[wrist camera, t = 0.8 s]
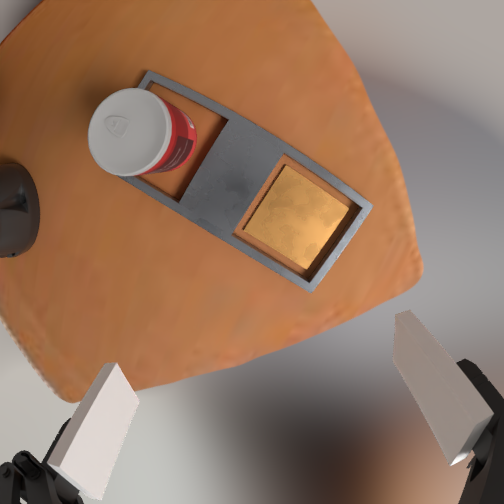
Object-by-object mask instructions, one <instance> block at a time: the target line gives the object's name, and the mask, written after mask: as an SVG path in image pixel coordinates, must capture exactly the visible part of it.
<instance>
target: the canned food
mask: <svg viewBox="0 0 504 504" xmlns="http://www.w3.org/2000/svg"><path fill="white" fill-rule="evenodd" d="M196 142H197V134H196V129H195V126H194V124H193V122H192V120H191V119H190V118H189V117H188V116H187V115H186V114H185V113H184V112H182V111H181V110H179V109H178V108H176V107H175V106H173V105H171V104H170V103H168V102H167V101H165V100H164V99H162V98H160V97H159V96H157V95H155V94H153V93H152V92H150V91H146V90H143V89H139V88H128V89H122V90H120V91H117V92H115V93H113V94H111V95H110V96H108V97H107V98H106V99H105V100H103V101H102V102H101V104H100V105H99V106H98V107H97V109H96V110H95V112H94V114H93V116H92V118H91V121H90V124H89V129H88V144H89V149H90V152H91V155H92V156H93V158H94V160H95V161H96V163H97V164H98V165H99V166H100V167H101V168H103V169H104V170H105V171H107V172H109V173H111V174H114V175H119V176H137V175H144V174H151V173H159V172H167V171H172V170H175V169H177V168H179V167H181V166H182V165H184V164H185V163H186V162H187V161H188V160H189V159H190V157H191V156H192V154H193V152H194V150H195V147H196Z"/></svg>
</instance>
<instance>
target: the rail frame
mask: <svg viewBox="0 0 504 504" xmlns="http://www.w3.org/2000/svg"><path fill="white" fill-rule="evenodd" d="M153 83H157V84H159V85H161V86H163V87H165V88H167V89H170V90H172V91H174V92H176V93H178V94H180V95H182V96H184V97H186V98H188V99H190V100H192V101H194V102H196V103H198V104H200V105H202V106H203V107H205V108H207V109H209V110H211V111H213V112H215V113H217V114H218V115H220V116H222V117H224V118H226V119H227V120H229V121H228V122H227V124H226V125H225V127H224V128H223V130H222V131H221V133H220V135H219V136H218V138H217V139H216V141H215V142H214V144H213V146H212V147H211V149H210V151H209V152H208V154H207V155H206V157H205V159H204V160H203V162H202V164H201V165H200V167H199V169H198V171H197V172H196V174H195V176H194V177H193V179H192V181H191V183H190V184H189V186H188V188H187V190H186V191H185V193H184V195H183V197H182V199H181V200H180V201H179V200H177V199H175V198H174V197H172V196H170V195H169V194H167V193H165V192H164V191H162V190H160V189H159V188H157V187H155V186H154V185H152V184H150V183H149V182H147V181H145V180H144V179H142V178H140V177H139V176H119V175H116V176H118V177H120V178H121V179H123V180H125V181H126V182H128V183H130V184H131V185H133V186H134V187H136V188H138V189H139V190H141V191H143V192H144V193H146V194H148V195H149V196H151V197H152V198H154V199H156V200H157V201H159V202H161V203H162V204H164V205H166V206H167V207H169V208H170V209H172V210H174V211H175V212H177V213H179V214H180V215H182V216H184V217H185V218H187V219H189V220H190V221H192V222H194V223H195V224H197V225H198V226H200V227H202V228H203V229H205V230H207V231H208V232H210V233H212V234H213V235H215V236H217V237H218V238H220V239H222V240H223V241H225V242H227V243H228V244H230V245H232V246H233V247H235V248H236V249H238V250H240V251H241V252H243V253H245V254H246V255H248V256H250V257H251V258H253V259H255V260H256V261H258V262H260V263H261V264H263V265H265V266H266V267H268V268H270V269H271V270H273V271H275V272H276V273H278V274H280V275H281V276H283V277H285V278H286V279H288V280H290V281H291V282H293V283H295V284H296V285H298V286H300V287H301V288H303V289H305V290H306V291H308V292H310V293H312V292H313V291H314V289H315V288H316V287H317V285H318V284H319V283H320V281H321V280H322V279H323V277H324V276H325V275H326V273H327V272H328V271H329V269H330V268H331V267H332V265H333V264H334V262H335V261H336V260H337V258H338V257H339V255H340V254H341V253H342V251H343V250H344V248H345V247H346V246H347V244H348V243H349V241H350V240H351V239H352V237H353V236H354V234H355V233H356V231H357V230H358V228H359V227H360V225H361V224H362V222H363V221H364V220H365V218H366V217H367V215H368V214H369V212H370V211H371V209H372V208H373V205H372V204H371V203H369V202H368V201H367V200H366V199H364V198H363V197H362V196H361V195H359V194H358V193H357V192H355V191H354V190H353V189H351V188H350V187H349V186H347V185H346V184H345V183H343V182H342V181H341V180H339V179H338V178H337V177H335V176H334V175H332V174H331V173H330V172H328V171H327V170H325V169H324V168H323V167H321V166H320V165H318V164H317V163H315V162H314V161H312V160H311V159H309V158H308V157H307V156H305V155H304V154H302V153H301V152H299V151H297V150H296V149H294V148H293V147H291V146H290V145H288V144H287V143H285V142H284V141H282V140H280V139H279V138H277V137H276V136H274V135H272V134H271V133H269V132H267V131H266V130H264V129H263V128H261V127H259V126H258V125H256V124H254V123H252V122H251V121H249V120H247V119H246V118H244V117H242V116H240V115H238V114H237V113H235V112H233V111H231V110H229V109H228V108H226V107H224V106H222V105H220V104H218V103H217V102H215V101H213V100H211V99H209V98H207V97H205V96H203V95H201V94H199V93H197V92H195V91H193V90H191V89H189V88H187V87H185V86H183V85H181V84H179V83H176V82H174V81H172V80H170V79H168V78H166V77H163V76H161V75H159V74H156V73H154V72H152V71H150V70H148V72H147V73H146V75H145V77H144V78H143V80H142V81H141V83H140V84H139V86H138V88H139V89H143V90H146V91H149V89H150V88H151V86H152V84H153ZM283 153H284V154H286V155H287V156H289V157H290V158H292V159H293V160H295V161H296V162H298V163H299V164H301V165H302V166H304V167H305V168H307V169H308V170H310V171H311V172H313V173H314V174H316V175H317V176H319V177H320V178H321V179H323V180H324V181H326V182H327V183H329V184H330V185H331V186H333V187H334V188H336V189H337V190H338V191H340V192H341V193H342V194H344V195H345V196H346V197H348V198H349V199H350V200H352V201H353V202H354V203H356V204H357V205H358V206H359V208H358V209H357V211H356V212H355V214H354V215H353V217H352V218H351V220H350V221H349V223H348V224H347V226H346V227H345V228H344V230H343V231H342V233H341V234H340V236H339V237H338V239H337V240H336V241H335V243H334V244H333V246H332V247H331V249H330V250H329V251H328V253H327V254H326V256H325V257H324V258H323V260H322V261H321V262H320V264H319V265H318V267H317V268H316V269H315V271H314V272H313V273H312V275H311V276H310V278H309V279H307V278H305V277H304V276H302V275H300V274H299V273H297V272H295V271H294V270H292V269H290V268H289V267H287V266H286V265H284V264H282V263H281V262H279V261H277V260H276V259H274V258H273V257H271V256H269V255H268V254H266V253H264V252H263V251H261V250H259V249H258V248H256V247H255V246H253V245H251V244H250V243H248V242H246V241H245V240H243V239H241V238H240V237H238V236H236V235H235V234H233V231H234V230H235V228H236V226H237V225H238V223H239V222H240V220H241V219H242V217H243V215H244V214H245V212H246V211H247V209H248V207H249V206H250V204H251V203H252V201H253V200H254V198H255V197H256V195H257V193H258V192H259V190H260V189H261V187H262V186H263V184H264V183H265V181H266V179H267V178H268V176H269V175H270V173H271V172H272V170H273V169H274V167H275V166H276V164H277V163H278V161H279V159H280V158H281V156H282V155H283ZM348 210H349V208H348V207H346V206H345V205H344V204H342V203H341V202H339V201H338V200H337V199H335V198H334V197H332V196H331V195H330V194H328V193H327V192H325V191H324V190H323V189H321V188H320V187H318V186H317V185H315V184H314V183H312V182H311V181H310V180H308V179H307V178H305V177H304V176H302V175H301V174H299V173H298V172H296V171H295V170H293V169H292V168H290V167H289V166H287V165H286V166H285V167H284V169H283V170H282V172H281V173H280V175H279V176H278V178H277V179H276V181H275V182H274V184H273V185H272V187H271V189H270V190H269V192H268V193H267V195H266V196H265V198H264V199H263V201H262V202H261V204H260V206H259V207H258V209H257V210H256V212H255V213H254V215H253V216H252V218H251V220H250V221H249V223H248V224H247V226H246V227H245V229H244V231H245V232H247V233H248V234H250V235H252V236H253V237H255V238H257V239H258V240H260V241H261V242H263V243H265V244H266V245H268V246H270V247H271V248H273V249H274V250H276V251H278V252H279V253H281V254H282V255H284V256H286V257H287V258H289V259H291V260H292V261H294V262H295V263H297V264H299V265H300V266H302V267H303V268H305V269H307V268H308V267H309V266H310V264H311V263H312V261H313V260H314V259H315V257H316V256H317V254H318V253H319V252H320V250H321V249H322V247H323V246H324V245H325V243H326V242H327V240H328V239H329V237H330V236H331V235H332V233H333V232H334V230H335V229H336V227H337V226H338V224H339V223H340V221H341V220H342V219H343V217H344V216H345V214H346V213H347V211H348Z"/></svg>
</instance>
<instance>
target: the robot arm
mask: <svg viewBox="0 0 504 504" xmlns="http://www.w3.org/2000/svg"><path fill="white" fill-rule="evenodd" d="M39 222H40V207H39V199H38V194H37V191H36V187H35V184H34V182H33V180H32V178H31V176H30V174H29V173H28V172H27V170H26V169H25V168H24V167H22V166H21V165H19V164H16V163H9V164H2V165H0V258H3V257H16V256H18V255H20V254H22V253H24V252H26V251H28V250H29V249H30V248H31V247H32V245H33V244H34V242H35V239H36V237H37V233H38V229H39ZM393 362H394V364H395V366H396V367H397V369H398V371H399V372H400V374H401V376H402V378H403V379H404V381H405V383H406V384H407V386H408V388H409V390H410V391H411V393H412V395H413V397H414V398H415V400H416V402H417V404H418V406H419V407H420V409H421V411H422V413H423V415H424V417H425V419H426V420H427V422H428V424H429V426H430V428H431V430H432V432H433V434H434V436H435V438H436V440H437V442H438V443H439V445H440V447H441V449H442V451H443V453H444V455H445V458H446V460H447V462H448V464H449V466H451V465H453V464H455V463H457V462H459V461H461V460H462V459H464V458H466V457H467V456H468V454H469V453H470V452H471V450H473V451H474V453H475V456H474V457H473V458H472V460H471V461H470V463H469V464H468V466H467V468H469V467H470V466H471V469H470V472H469V475H468V478H467V481H466V484H465V487H464V490H463V493H462V495H461V498H460V501H459V503H458V504H504V399H503V397H502V396H501V395H500V394H499V392H498V391H497V390H496V389H495V387H494V386H493V385H492V384H491V382H490V381H488V379H487V377H486V376H485V375H484V374H482V372H481V370H480V369H479V368H478V367H477V365H476V364H474V363H472V362H471V361H469V360H467V359H463V360H462V361H459V362H457V363H455V361H454V360H453V359H452V358H451V357H450V355H449V354H448V353H447V352H446V351H445V350H444V348H443V347H442V346H441V345H440V343H439V342H438V341H437V340H436V339H435V338H434V337H433V335H432V334H431V333H430V332H429V331H428V329H427V328H426V327H425V326H424V325H423V324H422V323H421V322H420V320H419V319H418V318H417V317H416V316H415V315H414V314H413V313H412V312H411V310H408V311H405V312H402V313H399V314H396V315H395V334H394V350H393ZM139 402H140V400H139V399H138V397H137V396H136V394H135V393H134V391H133V389H132V388H131V386H130V385H129V383H128V381H127V380H126V378H125V376H124V375H123V373H122V371H121V369H120V368H119V366H118V364H117V363H105V364H104V366H103V367H102V369H101V370H100V372H99V373H98V375H97V377H96V378H95V380H94V381H93V383H92V385H91V386H90V388H89V389H88V391H87V393H86V394H85V396H84V398H83V399H82V401H81V403H80V404H79V406H78V408H77V409H76V411H75V413H74V415H73V416H72V418H69V419H68V420H67V421H66V422H65V423H64V424H63V426H62V427H61V429H60V431H59V434H57V436H56V438H55V440H54V441H53V443H52V445H51V447H50V448H49V450H48V452H47V454H46V456H45V458H44V459H43V461H42V463H40V462H39V461H38V460H37V459H36V458H35V457H34V456H33V455H32V454H30V452H28V451H25V450H24V451H20V452H19V453H17V454H16V455H15V456H14V458H13V460H12V463H10V462H5V463H3V464H2V465H1V466H0V504H21V503H20V497H21V498H22V499H23V500H25V501H26V502H27V504H84V503H83V500H82V498H81V497H80V496H79V495H78V493H79V491H81V492H82V493H83V494H85V495H86V496H87V497H90V498H93V499H96V500H99V501H101V500H102V497H103V494H104V492H105V489H106V486H107V483H108V481H109V478H110V475H111V472H112V470H113V467H114V464H115V462H116V459H117V456H118V454H119V451H120V449H121V446H122V444H123V441H124V439H125V436H126V434H127V431H128V428H129V426H130V423H131V421H132V419H133V416H134V414H135V411H136V409H137V406H138V404H139Z"/></svg>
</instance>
